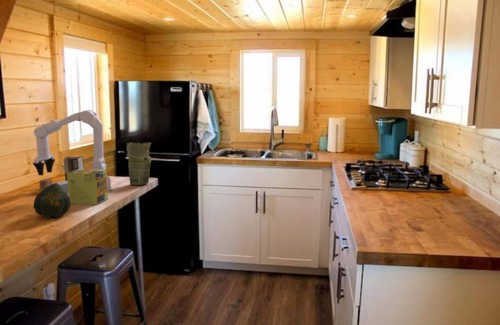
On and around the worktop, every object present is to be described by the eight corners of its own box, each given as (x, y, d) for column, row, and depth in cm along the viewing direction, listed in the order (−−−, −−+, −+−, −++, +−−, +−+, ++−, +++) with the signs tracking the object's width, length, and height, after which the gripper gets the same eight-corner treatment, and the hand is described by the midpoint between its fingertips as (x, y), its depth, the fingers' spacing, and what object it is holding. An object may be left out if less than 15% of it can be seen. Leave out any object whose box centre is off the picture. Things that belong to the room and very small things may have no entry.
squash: (25, 210, 170) (49, 182, 172) (28, 203, 183) (51, 176, 186) (55, 229, 175) (78, 201, 178) (56, 220, 189) (78, 194, 191)
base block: (74, 192, 223) (73, 182, 222) (61, 194, 218) (60, 184, 217) (67, 190, 227) (66, 180, 226) (54, 192, 222) (54, 182, 221)
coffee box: (85, 183, 243) (83, 156, 240) (80, 185, 237) (78, 158, 234) (71, 183, 244) (68, 156, 241) (65, 185, 238) (62, 158, 235)
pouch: (126, 184, 241) (123, 141, 236) (143, 180, 250) (141, 139, 245) (137, 187, 234) (135, 143, 229) (154, 183, 243) (152, 141, 238)
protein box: (97, 205, 198) (95, 173, 195) (68, 203, 201) (66, 172, 198) (108, 199, 208) (106, 169, 205) (81, 197, 211) (78, 168, 208)
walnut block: (52, 190, 225) (51, 179, 224) (48, 192, 221) (46, 181, 220) (45, 190, 226) (44, 179, 225) (40, 192, 222) (39, 180, 220)
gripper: (44, 146, 226) (46, 171, 229) (27, 150, 212) (29, 176, 214) (56, 147, 225) (58, 171, 228) (40, 151, 211) (42, 176, 214)
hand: (45, 173), depth 221 cm, fingers open, 7 cm apart
